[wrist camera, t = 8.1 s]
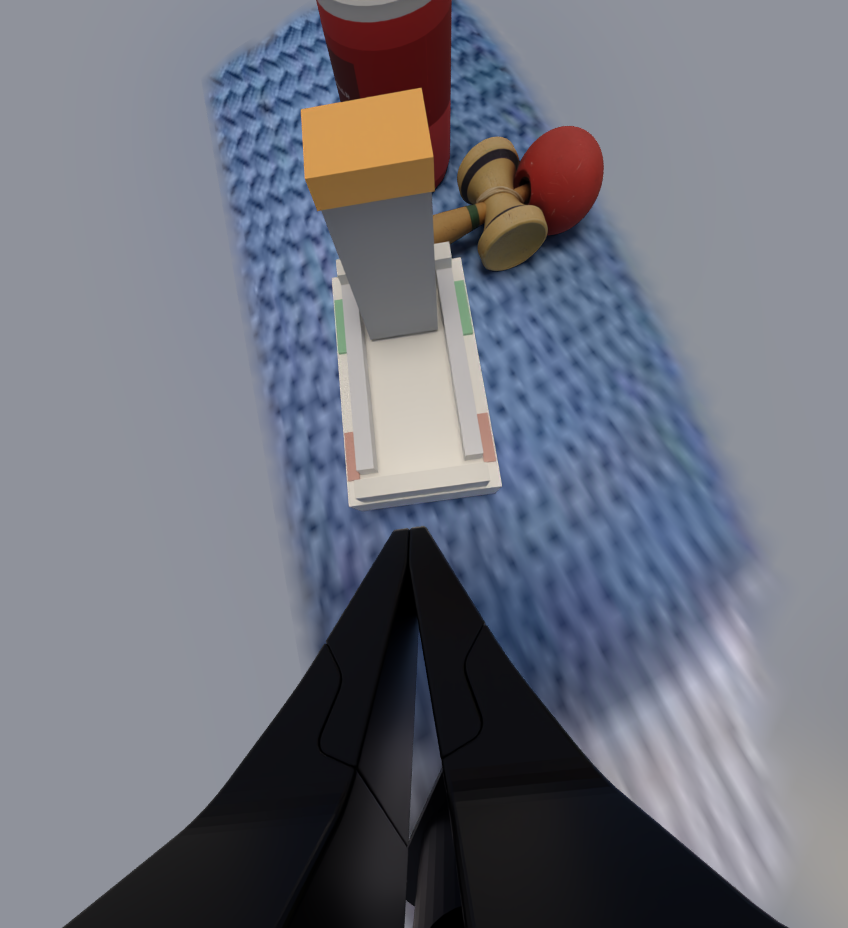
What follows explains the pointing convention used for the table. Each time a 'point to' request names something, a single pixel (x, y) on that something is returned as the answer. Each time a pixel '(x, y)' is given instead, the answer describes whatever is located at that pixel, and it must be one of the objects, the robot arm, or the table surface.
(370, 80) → the canned food
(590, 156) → the kendama
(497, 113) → the table surface
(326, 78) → the table surface
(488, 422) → the railed base plate
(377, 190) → the handle
